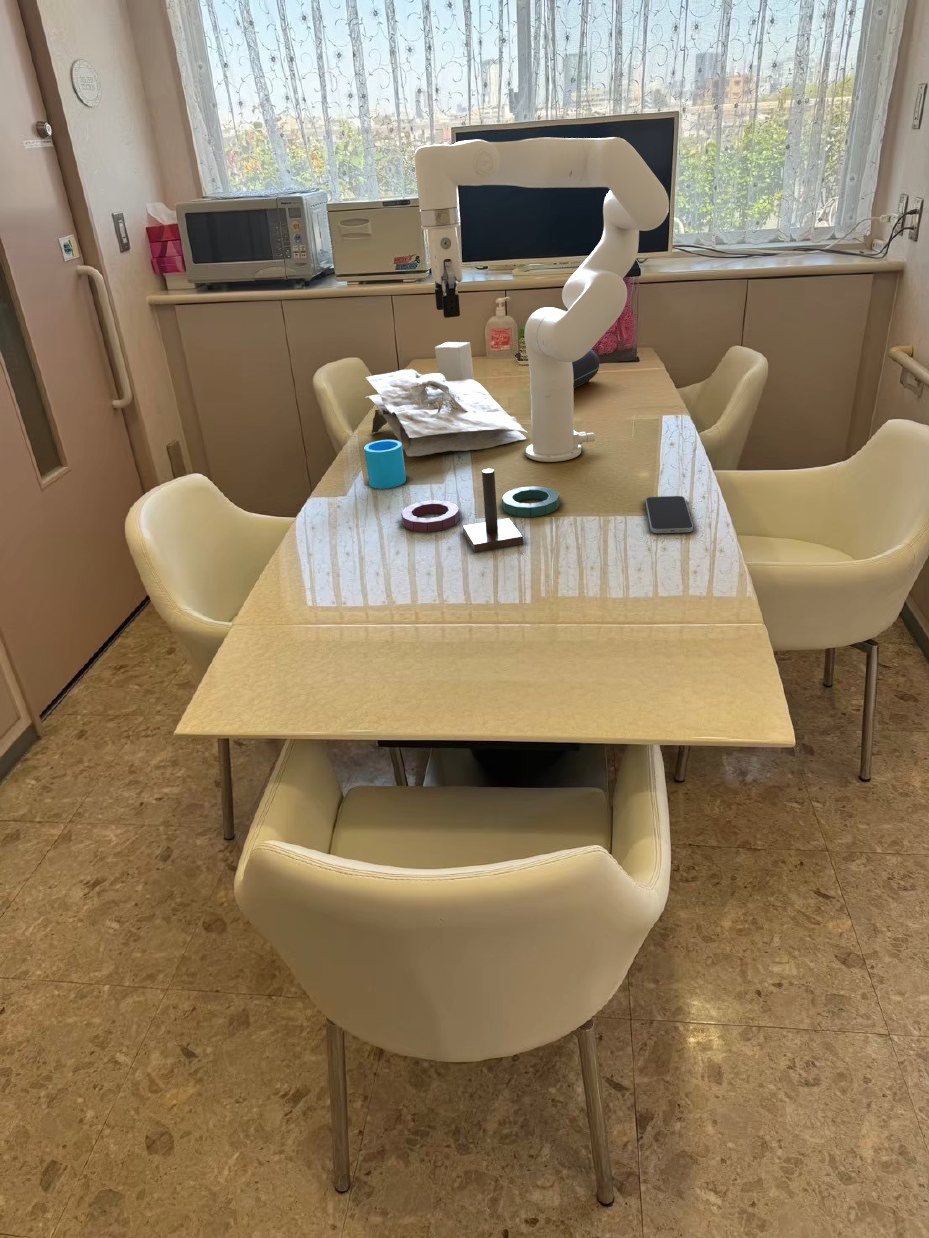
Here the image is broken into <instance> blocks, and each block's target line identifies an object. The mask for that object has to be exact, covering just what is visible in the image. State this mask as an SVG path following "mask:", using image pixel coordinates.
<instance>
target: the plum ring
mask: <svg viewBox="0 0 929 1238" xmlns="http://www.w3.org/2000/svg"><path fill="white" fill-rule="evenodd" d="M460 513H461V512H460V508H459V507H458V504H456V503H454V502H452V501H449V500H440V499H430V500H424V501H423V500H422V501H417V502H415V503H412V504H409V505H407V506H406V507H405V508H404V509H403V510H401V513H400V515H401V522H402V524H403V527H404V528H405V529H407V530H410V531H412V532H417V533H418V532H420V533H432V532H440V531H443V530H446V529H449V528H451V527H453V526H456V524H457V523H458V522H459V521H460V519H461V515H460ZM428 514H441V515H439V516H434V517H421V516H424V515H428Z"/></svg>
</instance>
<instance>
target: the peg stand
mask: <svg viewBox="0 0 929 1238" xmlns="http://www.w3.org/2000/svg"><path fill="white" fill-rule="evenodd" d="M495 475H496V474H495V469H493V468H484V469H482V470H481V479H482V480H481V481H482V492H483V506H484V507H483V508H484V520H485V521H484V522H483V521H482V522H476V523H471V524H465V525H462V533H463V535H464V537H465V538H466V540H467V542H468V544H469V545H470V547H471V548H472V550H473V552H474V553H478V552H484V551H490V550H495V549H500V548H501V549H503V548H507V547H514V546H520V545H524V536H523V535H522V533H521V532H520V531H519V529H518V527H516V525H515V524H514V522H512V520H511V519H510V518H509V517H508V518H502V519H501V518H500V519H498V509H497V508H498V507H497V491H496V490H497V489H496V476H495Z"/></svg>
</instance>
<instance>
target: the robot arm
mask: <svg viewBox="0 0 929 1238" xmlns="http://www.w3.org/2000/svg"><path fill="white" fill-rule="evenodd" d="M414 165H415V176H416V187H417V196H418V197H417V199H418V208H419V219H420V229H421V230H424V231H425V230H426V231H427V243H428V254H429V255H428V256H429V263H430V271H431V277H432V280H434V288H435V289H434V297H435V308H436V310H437V311H441V310H442V312H443V315H442V316H443V318H445V319H448V318H456V317H460V316H461V307H460V295H459V291H458V290H459V289H458V286H457V285H458V284H457V283H461V282H462V281H463V270H462V262H461V254H460V244H459V237H458V231H457V227H461V215H460V204H459V202H460V201H459V190H458V186H471V187H472V186H473V187H476V186H477V187H479V186H515V187H521V188H529V189H530V188H531V189H532V188H533V189H537V188H539V189H545V188H546V189H550V188H551V189H552V188H553V189H554V188H555V189H556V188H608V189H609V191H608V193H606V196H605V197H604V201H603V207H602V215H603V231H602V235H601V239H600V241H599V242H598V244H597V245H596V246H595V248H594V249H593V250H592V251H591V252H590V254H589V256H587V258H586V259H585V260H584V261H583V262H582V263H581V264H580V265H579V267H577V268H576V270H575V271H574V272H573V274H571V275H570V277H569V278H568V279H567V281H566V282H565V284H564V286H563V288H562V292H561V299H562V303H563V306H565V308H566V309H567V310H564V309H560V308H556V307H550V306H547V307H541V308H539V309H537V310H535V311H534V312H532V313H531V315H530V316H529V317H528V319H527V321H526V323H525V327H524V343H525V344H524V346H525V350H526V355H527V362H528V369H529V370H528V373H529V397H530V418H531V419H530V420H531V422H530V423H531V444H530V445H528V446H527V447H526V448H525V455H526V457H527V458H529V459H530V460H533V461H535V462H536V461H537V462H545V463H557V462H564V461H568V460H572V459H574V458H576V457H578V456H579V455H580V454H581V453H582V446H581V445H582V444H583V443H590V442H595V441H596V435H595V433H594V432H588V433H586V431H581V432H580V431H579V432H577V431H575V410H574V409H575V408H574V406H575V404H574V403H575V402H574V400H575V399H574V389H573V384H574V378H573V366H572V362H574V361H576V360H578V359H580V358H582V357H583V356H584V355H585V354H587V353H588V352H589V351H590V350H592V349H593V348H594V347H595V345H596V344H597V343H598V342H599V341H600V340H601V338H602V337H603V336H604V335H605V334H606V333H607V331H609V330H610V328H611V327H613V325H614V324H615V322H616V321H617V320H618V319H619V317H620V316H621V315H622V313H623V311H624V309H625V307H626V304H627V300H628V288H627V285H626V282H625V280H623V279H624V278H625V277H626V275H627V274H628V273H629V272H630V270H631V269H632V267H633V265H635V262H636V260H637V256H638V253H639V242H640V231H642V232H643V231H644V232H646V231H647V232H648V231H651V230H655V229H657V228H658V227H659V226H661V225H662V224H663V223H664V221H665V220H666V218H667V216H668V213H669V210H670V200H669V199H670V198H669V195H668V192H667V191H666V189H665V187H664V185H663V184H662V183H661V181H660V180H659V179H658V177H657V176H656V174H654V172H653V171H652V170H651V168H650V167H649V166H648V164H647V163H646V161H645V160H644V159H643V158H642V156H641V155H640V154H639V153H638V151H637V150H636V149H635V148H634V147H633V146H632V144H630V143H629V142H628V141H627V140H625V138H621V137H619V136H618V137H617V136H611V137H601V138H600V137H598V138H591V137H590V138H587V137H586V138H585V137H584V138H579V137H578V138H577V137H576V138H573V137H571V138H568V137H565V138H564V137H535V138H525V139H520V140H512V141H487V140H484V139H469V140H461V141H457V142H454V144H451V145H450V144H446V143H443V144H442V143H441V144H431V145H429V144H428V145H423V146H419V147H417V149H416V150H415V152H414Z"/></svg>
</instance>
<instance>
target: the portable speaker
mask: <svg viewBox="0 0 929 1238" xmlns="http://www.w3.org/2000/svg"><path fill="white" fill-rule="evenodd" d="M572 366H573V378H574V384H573V390H574V389H575V388H578V387H580V386H582V385H584V384H586V383H588V382H590V380H592V379H593V378H594V377H595V376H596V375H597V374H598V372H599V368H600V358H599V355H598V354H597V353H596V352H595V351H594V350H593V349H591V350H590V351H589V352H588V353H587V354H585V355H584V356H583V357H582V358H580V359H578V360H576V361H574V362H572Z"/></svg>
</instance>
